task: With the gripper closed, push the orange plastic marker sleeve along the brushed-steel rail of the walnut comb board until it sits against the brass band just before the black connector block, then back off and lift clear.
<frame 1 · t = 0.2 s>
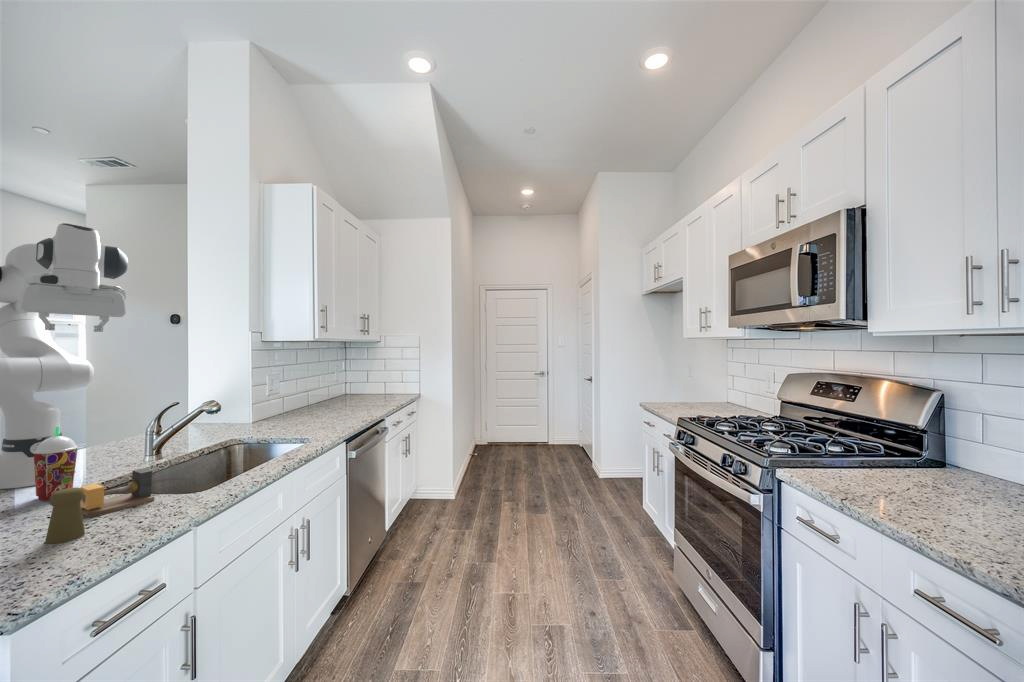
hand: (74, 331, 110), 47 cm above the countertop, fingers open, 8 cm apart
smoothie: (54, 497, 111), on the countertop
cork: (65, 538, 89), on the countertop
comb rail: (116, 505, 107), on the countertop
sleeve: (92, 496, 103), point 4 cm above the countertop, slide at 0.0 cm
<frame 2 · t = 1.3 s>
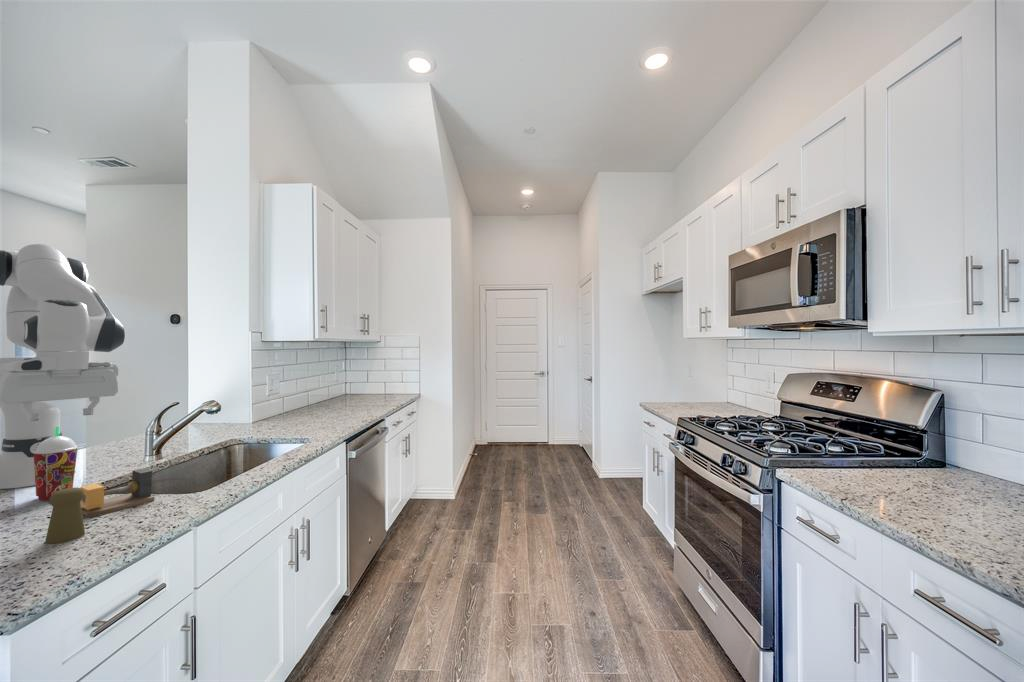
hand: (61, 417, 99), 25 cm above the countertop, fingers open, 8 cm apart
nothing on the countertop moved.
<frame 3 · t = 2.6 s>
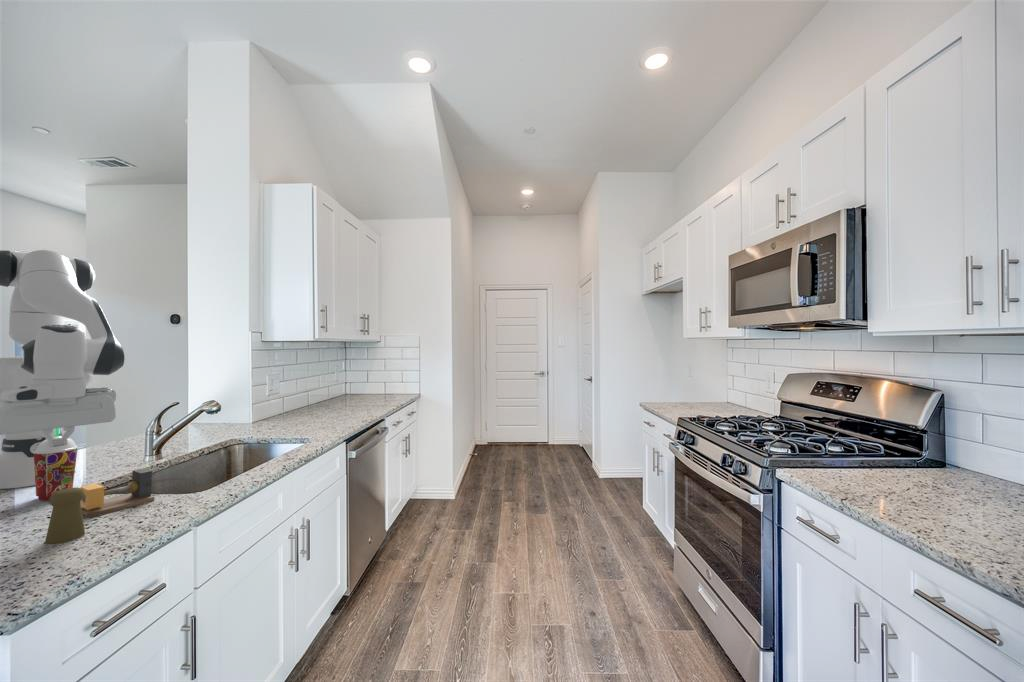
hand: (57, 446, 97), 19 cm above the countertop, fingers closed
nothing on the countertop moved.
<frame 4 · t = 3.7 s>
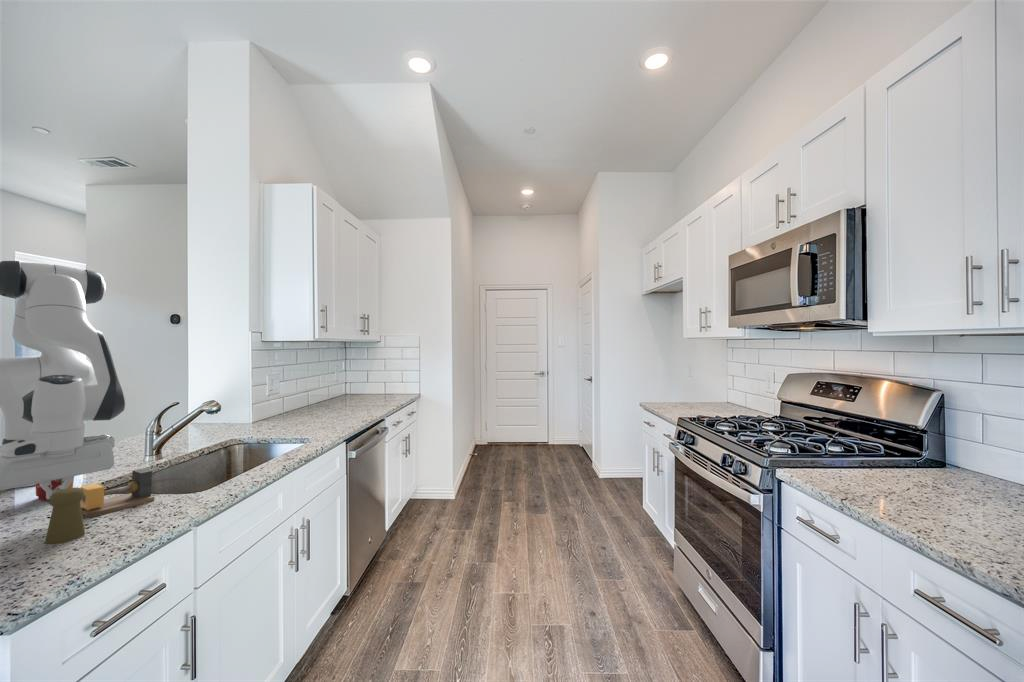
hand: (55, 497, 97), 6 cm above the countertop, fingers closed
nothing on the countertop moved.
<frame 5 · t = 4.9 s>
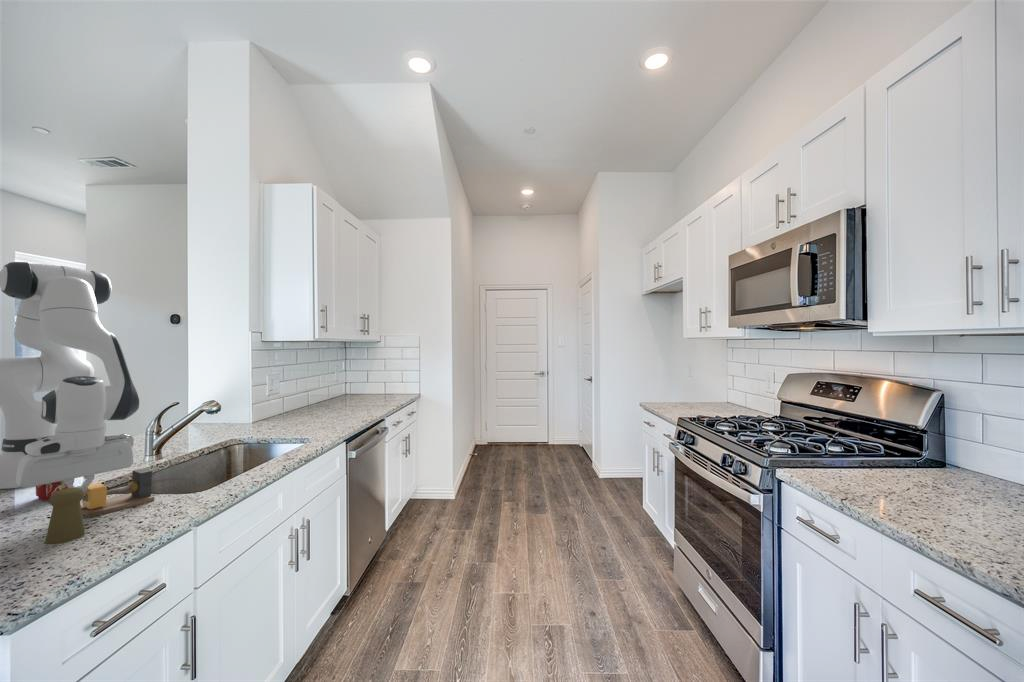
hand: (78, 494, 100), 5 cm above the countertop, fingers closed
sleeve: (94, 495, 103), point 4 cm above the countertop, slide at 0.5 cm, touching gripper
everything else where it was.
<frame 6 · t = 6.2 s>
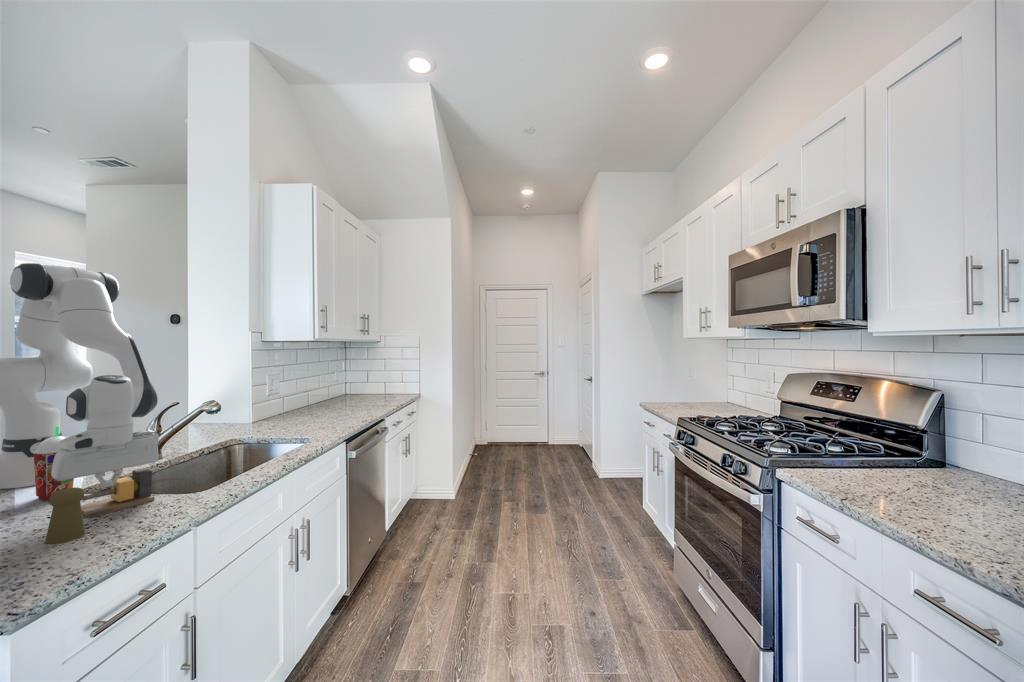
hand: (108, 487, 105), 5 cm above the countertop, fingers closed
sleeve: (122, 489, 108), point 4 cm above the countertop, slide at 6.0 cm, touching gripper
everything else where it was.
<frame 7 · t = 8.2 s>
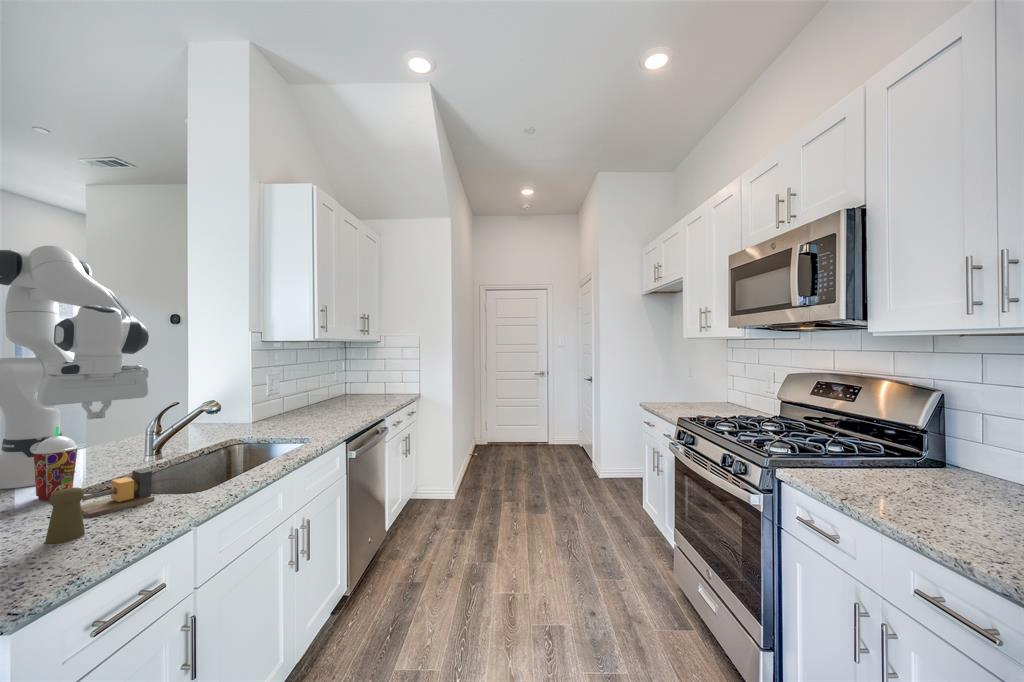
hand: (96, 418, 104), 24 cm above the countertop, fingers closed
sleeve: (122, 489, 108), point 4 cm above the countertop, slide at 6.0 cm
everything else where it was.
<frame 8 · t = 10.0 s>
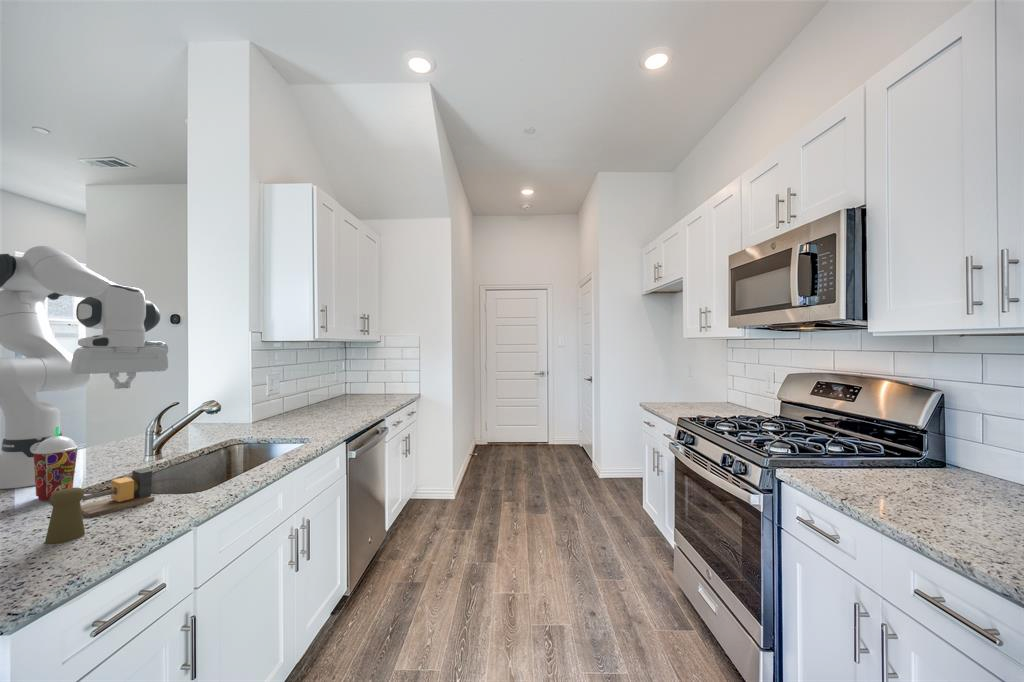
hand: (122, 388, 114), 31 cm above the countertop, fingers closed
nothing on the countertop moved.
at the end: sleeve slide at 6.0 cm; the gripper is holding nothing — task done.
